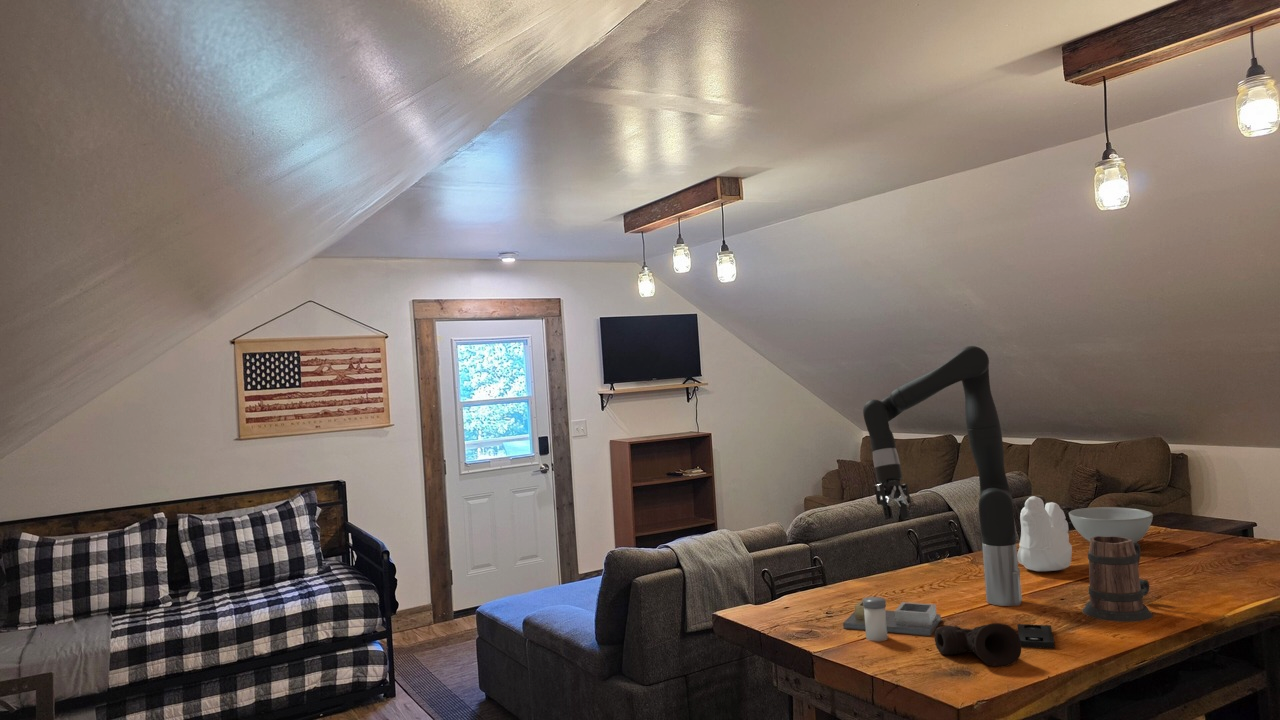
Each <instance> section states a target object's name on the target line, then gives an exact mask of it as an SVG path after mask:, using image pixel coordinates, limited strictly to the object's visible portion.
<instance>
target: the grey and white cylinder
mask: <svg viewBox="0 0 1280 720" xmlns="http://www.w3.org/2000/svg"><path fill="white" fill-rule="evenodd" d="M862 601H863V607H864V615H865V628H866V630H865V638H866V640H868V641H871V642H885V641H886V640H888V632H887V625H886V611H885V610H886V607H887V603H886V601H887V600H886V599H885V598H884V597H879V596H868V597H864V598H862Z"/></svg>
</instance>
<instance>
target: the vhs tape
mask: <svg viewBox="0 0 1280 720" xmlns="http://www.w3.org/2000/svg"><path fill="white" fill-rule="evenodd" d="M1017 633H1018V635H1019V637H1020V640H1021V648H1032V649H1033V648H1034V649H1050V650H1052V649H1053V650H1055V649H1056V647H1055V640H1054V635H1053V634H1054V633H1053V629H1052V625H1050V624H1049V625H1047V624H1043V625H1042V624H1024V623H1021V624H1020V623H1019V624H1017ZM1026 638H1027V639H1026Z"/></svg>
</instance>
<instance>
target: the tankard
mask: <svg viewBox="0 0 1280 720" xmlns="http://www.w3.org/2000/svg"><path fill="white" fill-rule="evenodd" d="M1088 548H1089V549H1088V552H1087V560H1088V570H1089V571H1088V572H1089V573H1088V574H1089V576H1088V578H1089V586H1088V595H1089V601H1088V602H1087V603H1086V605H1085V606H1084V608H1082V610H1081V612H1082V613H1083V614H1084V615H1086V616H1088V617H1091V618H1094V619H1098V620H1102V621H1110V622H1123V623H1124V622H1125V623H1132V622H1134V623H1135V622H1142V621H1148V620H1150V619H1152V618H1153V617H1154V615H1153V613H1152V612H1151V611H1150V609H1149V608H1148V606H1147V605H1145V604H1144V601H1143V598H1144V597H1146V596H1147V595H1148V593H1149V592H1150V582H1149V581H1148V580H1147V579H1142V578H1140V571H1139V565H1140V560H1141V559H1140V558H1141V545H1140V544H1139V543H1138V541H1137V542H1133V541H1132V540H1131V539H1129V538H1125V537H1116V536H1111V537H1102V536H1095V537H1091V538H1090V541H1089V547H1088Z"/></svg>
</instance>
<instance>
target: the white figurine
mask: <svg viewBox="0 0 1280 720" xmlns="http://www.w3.org/2000/svg"><path fill="white" fill-rule="evenodd" d="M1019 520H1020V530H1021V531H1020V540H1019V544H1018V545H1019V548H1018V549H1017V559H1018V564H1020V565H1023V566H1024V567H1025V569H1028V570H1030V571H1035V572H1052V571H1060V570H1061V571H1062V570H1065V569H1068V568H1069V567H1070V565H1071V564H1072V563H1071V562H1072V554H1073V551H1072V550H1073V546H1072V544H1071V543H1070V542H1069V541H1070V537H1069V535H1070V534H1069V533H1068V532H1069V523H1068V521H1067V520H1066V515H1065V512H1064V510H1063V509H1062V508H1061V507H1060V505H1059V504H1058V503H1056V502H1052V501H1051V502H1046V503H1045V504H1044V501H1043V499H1042V498H1040V497H1038V496H1035V495H1032V496H1029V497H1028V498H1027V499H1026V500H1025V502H1024V507H1022V509H1021V510H1020V516H1019Z"/></svg>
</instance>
